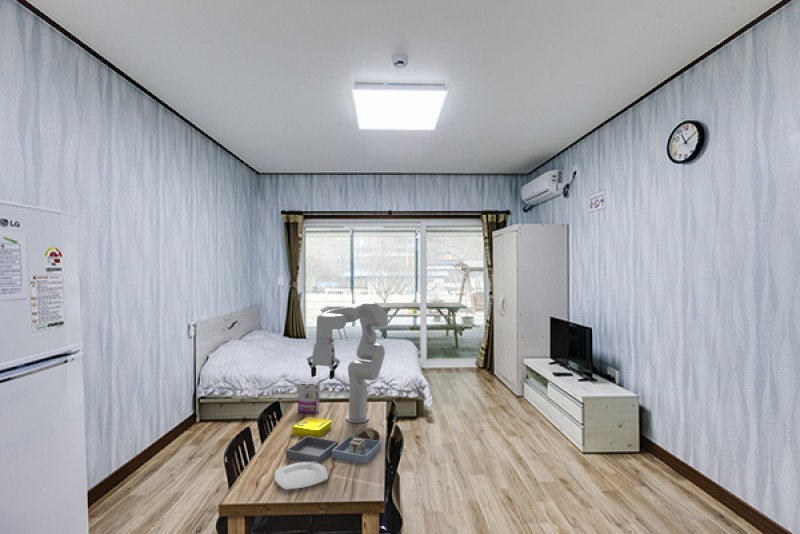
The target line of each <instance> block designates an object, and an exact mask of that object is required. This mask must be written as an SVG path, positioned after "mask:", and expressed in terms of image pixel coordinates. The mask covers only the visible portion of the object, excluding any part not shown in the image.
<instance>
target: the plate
mask: <svg viewBox="0 0 800 534" xmlns="http://www.w3.org/2000/svg"><path fill="white" fill-rule="evenodd" d="M328 479H329V478H328V470H327V469H326V467H325V466H324V465H322V464H321V463H320V464H319V463H317V462H316V461H310V462H306V461H302V462H296V463H292V464H289V465H285V466H282V467H279V468H277V469H275V472H274V481H275V483H276V484H277V485H278V486H280V488H282V489H283V490H286V491H287V490H297V489H298V490H299V489H302V488H303V489H304V488H308V487H312V486H314V485H318V484H320V483H323V482H325V481H327V480H328Z"/></svg>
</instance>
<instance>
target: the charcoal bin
mask: <svg viewBox="0 0 800 534" xmlns="http://www.w3.org/2000/svg"><path fill="white" fill-rule="evenodd" d="M338 445H339V441H337V440H334V439H333V440H332V439H326V438H322V437H319V438H316V437H311V436H306V437H303V438H302V439H300V440H299V441H298V442H295V443H294V444H293V445H292V446H290V447H289V448H286V449H285V459H286V460H288V461H289V460H290V461H294V462H295V461H296V462H297V461H302V462H310V461H316V462H317V463H319V464H321V463H322V462H323V461H324V460H326V459H327V458H328V457H329V456H331V455H332V450H333V449H334V448H335V447H336V446H338Z"/></svg>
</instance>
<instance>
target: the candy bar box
mask: <svg viewBox="0 0 800 534" xmlns="http://www.w3.org/2000/svg"><path fill="white" fill-rule="evenodd" d="M297 386H298V387H297V388H298V391H297V393H298V397H297V413H298V414H314V415H316V414H317V413H319V412H320V382H313V381H301V382H299V383H298V385H297Z"/></svg>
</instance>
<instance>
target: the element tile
mask: <svg viewBox="0 0 800 534" xmlns="http://www.w3.org/2000/svg"><path fill="white" fill-rule="evenodd" d="M331 429H332V420H331V419H327V418H319V417H314V416H307V417H305V418H302V419H301V420H299V421H298V422H296V423H295V424H293V425H292V429H291V431H292V433H291V434H292V435H293V436H298V437H303V438H305V437H306V436H311V437H316V438H322V436H324V435H325V434H326V433H328V432H329V431H330V430H331ZM323 434H324V435H323Z"/></svg>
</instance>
